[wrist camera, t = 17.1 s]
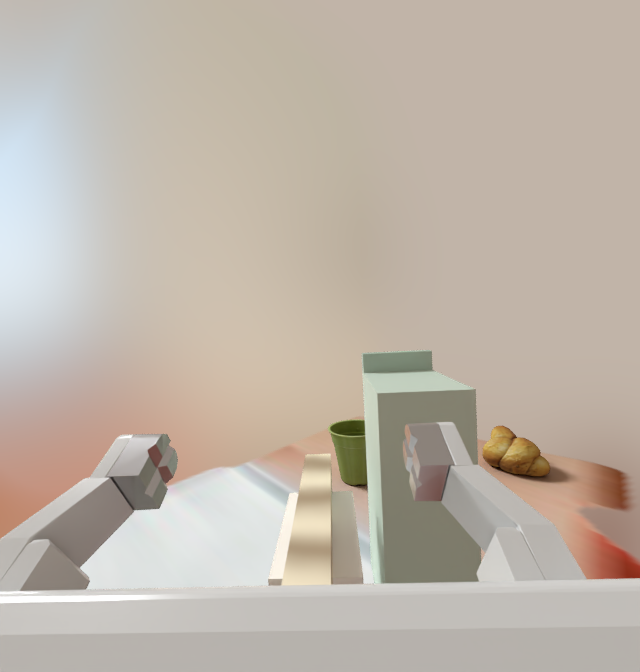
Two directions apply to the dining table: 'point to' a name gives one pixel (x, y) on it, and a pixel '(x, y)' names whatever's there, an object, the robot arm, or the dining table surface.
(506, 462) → the bread roll
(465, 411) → the pale green block
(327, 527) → the rail
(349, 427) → the plant pot
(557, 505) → the dining table surface
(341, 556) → the block
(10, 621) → the robot arm
